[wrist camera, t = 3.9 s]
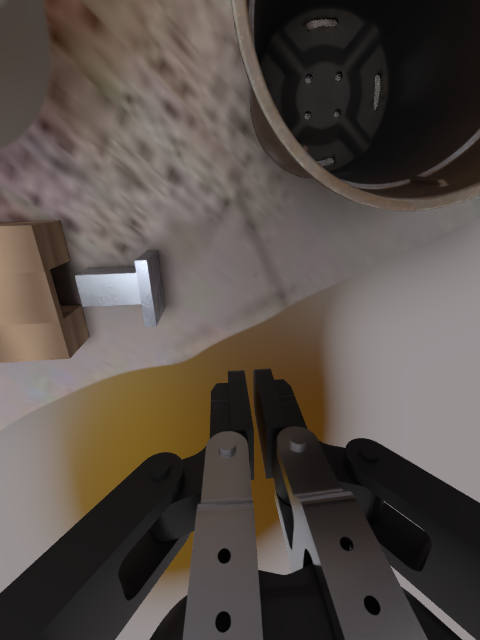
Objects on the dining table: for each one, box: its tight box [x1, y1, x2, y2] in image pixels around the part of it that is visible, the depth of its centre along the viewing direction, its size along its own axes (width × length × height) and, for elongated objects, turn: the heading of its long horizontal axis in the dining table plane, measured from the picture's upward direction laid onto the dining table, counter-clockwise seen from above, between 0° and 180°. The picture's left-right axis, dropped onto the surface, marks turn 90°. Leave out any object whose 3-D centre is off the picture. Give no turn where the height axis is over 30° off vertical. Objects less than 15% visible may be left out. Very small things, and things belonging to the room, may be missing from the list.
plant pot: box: [231, 0, 480, 211], centre depth 18 cm, size 16×16×16 cm
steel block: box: [75, 250, 165, 327], centre depth 27 cm, size 7×6×5 cm
